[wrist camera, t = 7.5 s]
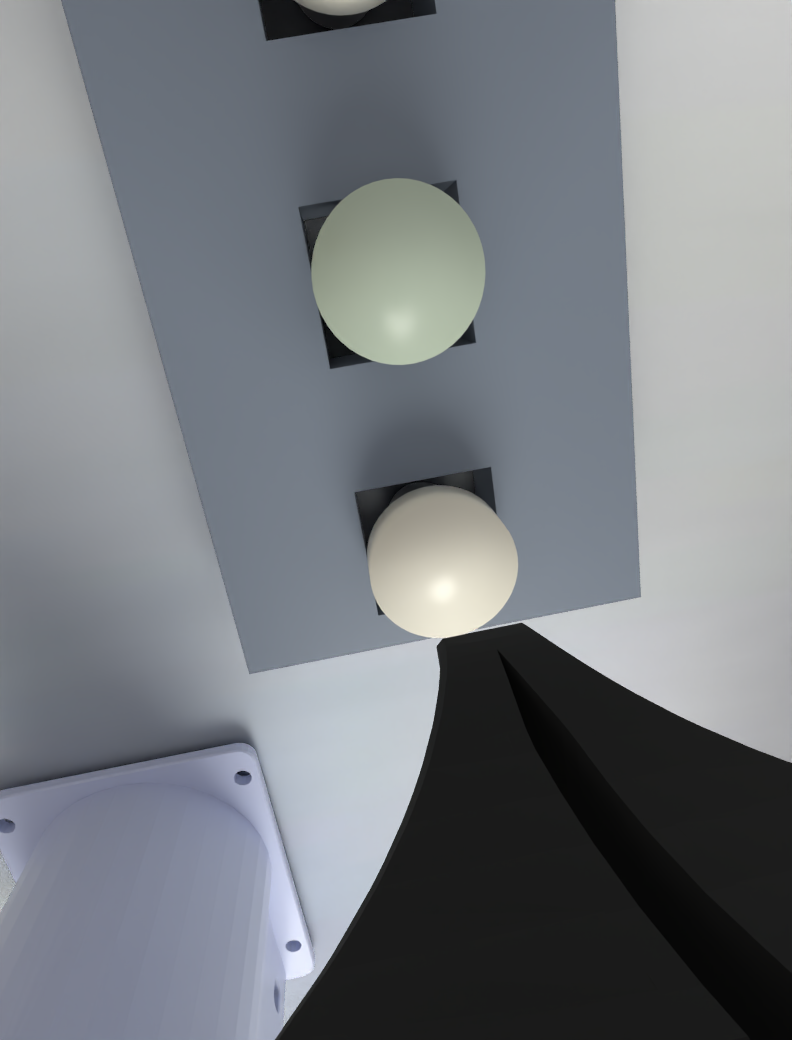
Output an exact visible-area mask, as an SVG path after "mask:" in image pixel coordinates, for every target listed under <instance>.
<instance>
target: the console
mask: <svg viewBox="0 0 792 1040" xmlns="http://www.w3.org/2000/svg"><path fill="white" fill-rule="evenodd" d="M61 1H62V5H63V8H64V12H65V16H66V19H67V23H68V26H69V30H70V33H71V37H72V41H73V44H74V48H75V51H76V55H77V58H78V62H79V66H80V69H81V73H82V76H83V80H84V83H85V87H86V91H87V94H88V98H89V101H90V105H91V109H92V112H93V116H94V119H95V123H96V126H97V130H98V134H99V137H100V141H101V144H102V148H103V152H104V155H105V159H106V162H107V166H108V169H109V173H110V177H111V180H112V184H113V187H114V191H115V194H116V198H117V202H118V205H119V209H120V212H121V216H122V219H123V223H124V227H125V230H126V234H127V237H128V241H129V245H130V248H131V252H132V255H133V259H134V262H135V266H136V270H137V273H138V277H139V280H140V284H141V287H142V291H143V295H144V298H145V302H146V305H147V309H148V313H149V316H150V320H151V323H152V327H153V330H154V334H155V338H156V341H157V345H158V348H159V352H160V355H161V359H162V363H163V366H164V370H165V373H166V377H167V381H168V384H169V388H170V391H171V395H172V398H173V402H174V406H175V409H176V413H177V416H178V420H179V423H180V427H181V431H182V434H183V438H184V441H185V445H186V449H187V452H188V456H189V459H190V463H191V466H192V470H193V474H194V477H195V481H196V484H197V488H198V491H199V495H200V499H201V502H202V506H203V509H204V513H205V517H206V520H207V524H208V527H209V531H210V534H211V538H212V542H213V545H214V549H215V552H216V556H217V559H218V563H219V567H220V570H221V574H222V577H223V581H224V585H225V588H226V592H227V595H228V599H229V602H230V606H231V610H232V613H233V617H234V620H235V624H236V627H237V631H238V635H239V638H240V642H241V645H242V649H243V653H244V656H245V660H246V663H247V667H248V670H249V674H252V673H257V672H262V671H267V670H272V669H278V668H283V667H288V666H293V665H298V664H303V663H308V662H313V661H318V660H323V659H328V658H333V657H338V656H344V655H349V654H354V653H359V652H364V651H369V650H374V649H379V648H384V647H389V646H394V645H399V644H405V643H410V642H415V641H420V640H425V639H430V638H431V637H424V636H420V635H416V634H413V633H411V632H408V631H406V630H404V629H402V628H401V627H399V626H398V625H396V624H395V623H393V622H392V621H391V620H390V619H389V618H388V617H387V616H386V615H385V613H384V612H383V611H382V610H381V608H380V607H379V605H378V603H377V601H376V599H375V597H374V594H373V591H372V587H371V582H370V575H369V568H368V561H367V547H366V542H365V537H364V531H363V526H362V521H361V516H360V511H359V506H358V501H357V495H356V492H359V491H365V490H370V489H375V488H381V487H386V486H391V485H397V484H402V483H407V482H413V481H418V480H423V479H429V478H434V477H439V476H445V475H450V474H455V473H461V472H466V471H471V470H473V478H474V485H475V493H476V495H477V496H478V497H480V498H481V499H482V500H483V501H485V502H486V503H487V504H488V505H489V506H490V507H491V508H492V510H493V511H494V512H495V514H496V515H497V516H498V517H499V519H500V520H501V521H502V523H503V524H504V525H505V527H506V528H507V530H508V531H509V532H510V534H511V536H512V538H513V540H514V543H515V546H516V550H517V555H518V573H517V579H516V583H515V586H514V589H513V591H512V593H511V595H510V597H509V599H508V601H507V602H506V604H505V605H504V606H503V608H502V609H501V610H500V611H499V612H498V613H497V614H496V615H495V616H494V617H493V618H492V619H491V620H490V621H488V622H487V623H485V624H484V625H483V626H481V627H479V628H477V629H481V628H486V627H491V626H496V625H501V624H506V623H511V622H516V621H521V620H527V619H532V618H537V617H542V616H547V615H552V614H557V613H562V612H567V611H572V610H577V609H582V608H588V607H593V606H598V605H603V604H608V603H613V602H618V601H623V600H628V599H633V598H638V597H641V591H640V568H639V545H638V522H637V499H636V476H635V453H634V430H633V406H632V383H631V360H630V337H629V314H628V291H627V268H626V245H625V222H624V199H623V176H622V153H621V130H620V107H619V84H618V61H617V38H616V15H615V0H411V1H412V9H413V18H407V19H400V20H394V21H388V22H382V23H375V24H369V25H363V26H357V27H350V28H344V29H338V30H332V31H325V32H319V33H313V34H307V35H301V36H294V37H288V38H282V39H276V40H269V41H268V38H267V33H266V28H265V23H264V18H263V12H262V7H261V2H260V0H61ZM392 178H405V179H412V180H417V181H421V182H424V183H427V184H430V185H432V186H434V187H436V188H438V189H440V190H442V191H443V192H444V193H446V194H447V195H449V196H450V197H451V198H453V199H454V200H455V201H456V202H457V203H458V204H459V205H460V206H461V207H462V209H463V210H464V211H465V212H466V214H467V215H468V216H469V218H470V220H471V221H472V223H473V225H474V226H475V229H476V231H477V233H478V235H479V238H480V241H481V244H482V248H483V253H484V258H485V285H484V291H483V296H482V299H481V302H480V305H479V308H478V310H477V313H476V315H475V317H474V319H473V320H472V322H471V324H470V325H469V327H468V328H467V330H466V331H465V332H464V333H463V335H462V336H461V337H460V338H459V339H458V340H457V341H456V342H455V343H454V344H453V345H452V346H450V347H449V348H448V349H446V350H445V351H444V352H442V353H440V354H438V355H436V356H435V357H432V358H430V359H427V360H425V361H422V362H418V363H414V364H406V365H390V364H384V363H379V362H376V361H372V360H369V359H367V358H365V357H363V356H360V355H359V354H353V355H348V356H342V357H337V358H331V359H330V357H329V352H328V346H327V341H326V336H325V331H324V326H323V321H322V316H321V313H320V311H319V308H318V306H317V303H316V300H315V296H314V292H313V286H312V276H311V265H312V264H311V259H310V254H309V249H308V244H307V239H306V233H305V228H304V223H303V220H308V219H314V218H320V217H326V216H329V215H330V213H331V212H332V210H333V209H334V208H335V207H336V206H337V205H338V204H339V203H340V202H341V201H342V200H343V199H344V198H345V197H347V196H348V195H349V194H350V193H352V192H354V191H355V190H357V189H359V188H360V187H362V186H365V185H367V184H370V183H372V182H375V181H379V180H383V179H392ZM475 630H476V629H475Z"/></svg>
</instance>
